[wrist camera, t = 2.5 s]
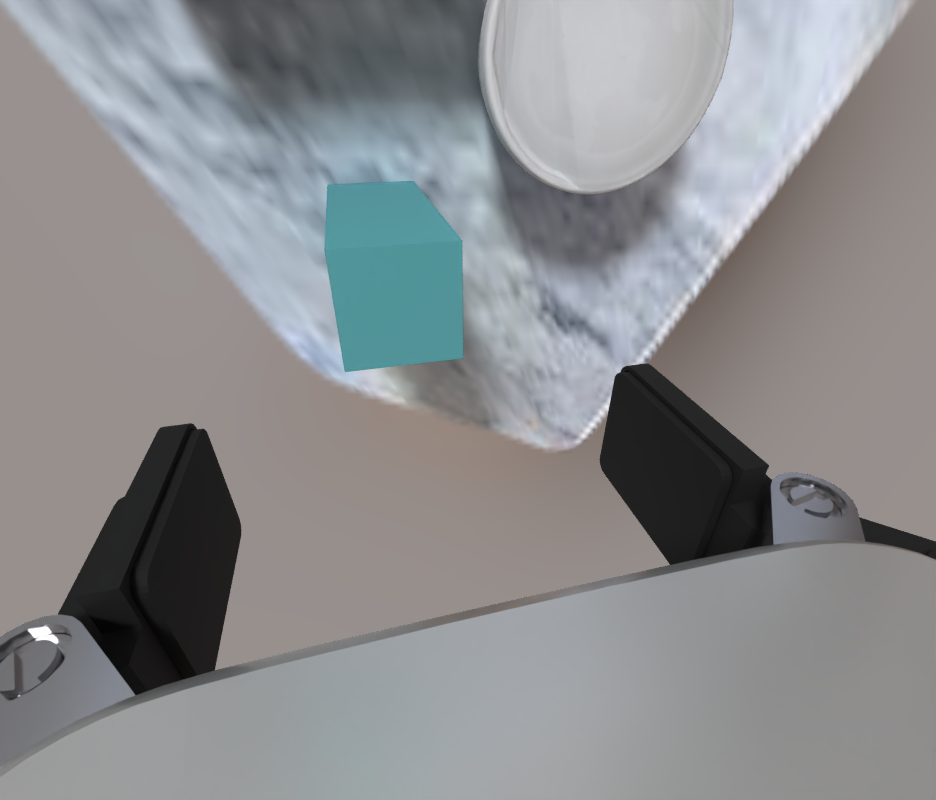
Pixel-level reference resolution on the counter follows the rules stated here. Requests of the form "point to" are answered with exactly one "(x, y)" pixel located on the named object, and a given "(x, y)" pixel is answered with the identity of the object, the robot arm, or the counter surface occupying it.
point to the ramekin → (599, 83)
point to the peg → (393, 276)
